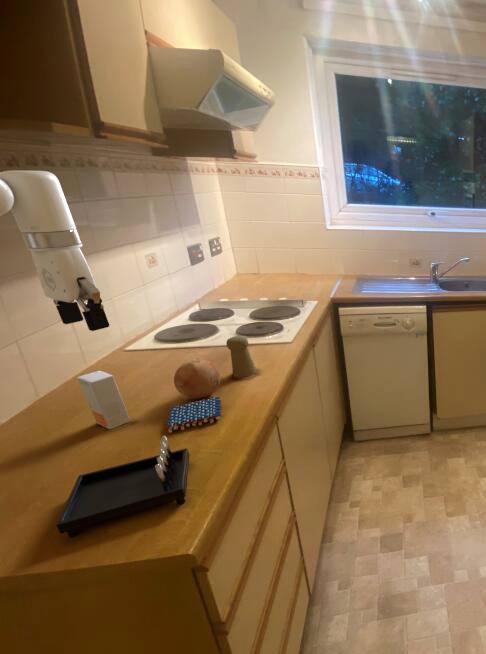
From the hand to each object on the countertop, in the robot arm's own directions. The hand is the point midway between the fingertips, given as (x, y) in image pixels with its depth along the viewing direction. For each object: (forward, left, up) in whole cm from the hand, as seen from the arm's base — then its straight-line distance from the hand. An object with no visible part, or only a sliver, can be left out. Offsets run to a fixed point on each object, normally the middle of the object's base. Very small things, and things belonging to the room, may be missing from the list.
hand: (86, 325), depth 89 cm
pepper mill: (+24, +19, -25) cm, 39 cm away
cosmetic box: (-3, +4, -25) cm, 25 cm away
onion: (+14, +9, -25) cm, 30 cm away
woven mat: (+13, -3, -25) cm, 28 cm away
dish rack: (+5, -30, -24) cm, 39 cm away
